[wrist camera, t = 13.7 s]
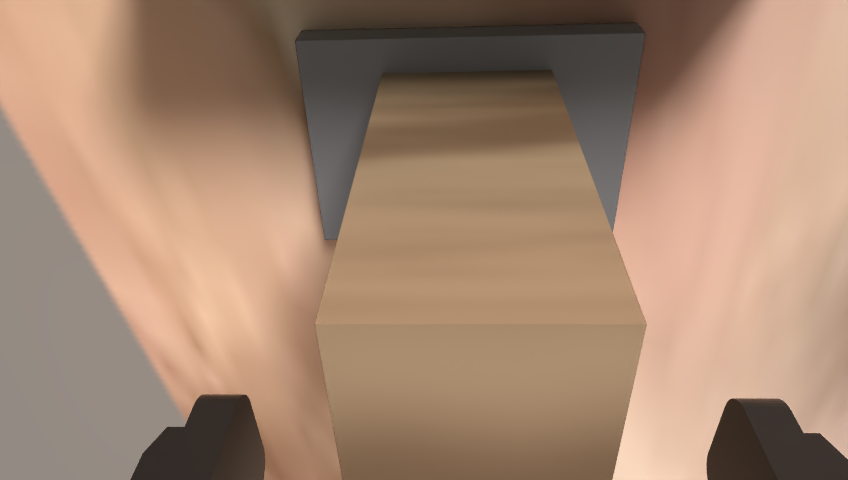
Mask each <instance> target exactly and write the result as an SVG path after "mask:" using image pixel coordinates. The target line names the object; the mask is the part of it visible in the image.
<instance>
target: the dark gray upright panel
mask: <svg viewBox="0 0 848 480" xmlns="http://www.w3.org/2000/svg"><path fill="white" fill-rule="evenodd" d="M644 39H645V32H644V31H643V30H642V28H641V27H640V26H639V25H638V24H637V23H618V24H575V25H532V26H489V27H446V28H404V29H361V30H318V31H301V33H300V34H299V36H298V37H297V39H296V40H295V44H296V51H297V58H298V64H299V71H300V78H301V84H302V91H303V98H304V104H305V111H306V118H307V124H308V131H309V138H310V144H311V151H312V158H313V164H314V171H315V178H316V184H317V191H318V198H319V204H320V211H321V218H322V224H323V231H324V238H325V240H338V236H339V232H340V229H341V225H342V221H343V217H344V214H345V210H346V206H347V202H348V199H349V195H350V191H351V188H352V184H353V180H354V176H355V173H356V169H357V165H358V161H359V158H360V154H361V150H362V146H363V143H364V139H365V135H366V132H367V128H368V124H369V120H370V117H371V113H372V109H373V105H374V102H375V98H376V94H377V90H378V87H379V83H380V79H381V76H382V73H421V72H469V71H518V70H552V71H553V74H554V77H555V79H556V82H557V85H558V88H559V90H560V93H561V96H562V98H563V101H564V104H565V106H566V109H567V112H568V114H569V117H570V120H571V122H572V125H573V128H574V130H575V133H576V136H577V139H578V141H579V144H580V147H581V149H582V152H583V155H584V157H585V160H586V163H587V165H588V168H589V171H590V173H591V176H592V179H593V181H594V184H595V187H596V190H597V192H598V195H599V198H600V200H601V203H602V206H603V208H604V211H605V214H606V216H607V219H608V222H609V224H610V227H611V230H612V232H613V228H614V222H615V216H616V210H617V204H618V198H619V192H620V186H621V180H622V173H623V167H624V161H625V155H626V149H627V143H628V137H629V131H630V125H631V119H632V112H633V106H634V100H635V94H636V88H637V82H638V76H639V70H640V64H641V58H642V52H643V45H644Z"/></svg>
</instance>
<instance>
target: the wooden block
mask: <svg viewBox="0 0 848 480" xmlns="http://www.w3.org/2000/svg"><path fill="white" fill-rule="evenodd" d="M646 325H647V324H646V321H645V318H644V316H643V313H642V310H641V308H640V305H639V302H638V300H637V297H636V294H635V292H634V289H633V286H632V283H631V281H630V278H629V275H628V273H627V270H626V267H625V265H624V262H623V259H622V257H621V254H620V251H619V249H618V246H617V243H616V241H615V238H614V235H613V232H612V230H611V227H610V224H609V222H608V219H607V216H606V214H605V211H604V208H603V206H602V203H601V200H600V198H599V195H598V192H597V190H596V187H595V184H594V181H593V179H592V176H591V173H590V171H589V168H588V165H587V163H586V160H585V157H584V155H583V152H582V149H581V147H580V144H579V141H578V139H577V136H576V133H575V130H574V128H573V125H572V122H571V120H570V117H569V114H568V112H567V109H566V106H565V104H564V101H563V98H562V96H561V93H560V90H559V88H558V85H557V82H556V79H555V77H554V74H553V71H552V70H518V71H469V72H421V73H382V76H381V79H380V83H379V87H378V90H377V94H376V98H375V102H374V105H373V109H372V113H371V117H370V120H369V124H368V128H367V132H366V135H365V139H364V143H363V146H362V150H361V154H360V158H359V161H358V165H357V169H356V173H355V176H354V180H353V184H352V188H351V191H350V195H349V199H348V202H347V206H346V210H345V214H344V217H343V221H342V225H341V229H340V232H339V236H338V240H337V243H336V247H335V251H334V255H333V258H332V262H331V266H330V270H329V273H328V277H327V281H326V285H325V288H324V292H323V296H322V299H321V303H320V307H319V311H318V314H317V318H316V322H315V328H316V333H317V339H318V345H319V350H320V356H321V361H322V367H323V373H324V378H325V384H326V389H327V395H328V401H329V406H330V412H331V417H332V423H333V429H334V434H335V440H336V445H337V451H338V457H339V462H340V468H341V473H342V479H343V480H612V478H613V474H614V469H615V465H616V460H617V456H618V451H619V447H620V442H621V438H622V433H623V429H624V424H625V420H626V415H627V411H628V406H629V402H630V397H631V393H632V388H633V384H634V379H635V375H636V370H637V366H638V361H639V357H640V352H641V348H642V343H643V339H644V334H645V330H646Z"/></svg>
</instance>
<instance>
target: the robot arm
mask: <svg viewBox="0 0 848 480" xmlns="http://www.w3.org/2000/svg"><path fill="white" fill-rule="evenodd" d="M264 471H265V453H264V447H263V444H262V440H261V437H260V434H259V430H258V427H257V423H256V420H255V417H254V413H253V410H252V406H251V403H250V400H249V398H248V396H247V395H201V396H200V397H199V398H198V399H197V400H196V402H195V404H194V406H193V409H192V411H191V413H190V416H189V418H188V420H187V423H186V425H185V427H167V428H166V429H165V430H164V431H163V432H162V433H161V434H160V435H159V437H158V438H157V439H156V440H155V441H154V442H153V443H152V444H151V445H150V446H149V447H148V448H147V450H145V452H144V453H143V454H142V456H141V459H140V461H139V463H138V465H137V467H136V469H135V471H134V473H133V476H132V478H131V480H263V479H264ZM707 477H708V480H848V459H847V458H845V457H844V456H843V455H842V454H841V453H840V452H839V451H838V450H837V449H836V448H835V447H834V446H833V445H832V444H831V443H829V442H828V441H827V440H826V439H825V438H824V437H823V436H822V435H821V434H820V433H803V431H802V430H801V428H800V426H799V424H798V422H797V421H796V419H795V417H794V415H793V413H792V411H791V410H790V408H789V407H788V405H787V404H786V403H785V402H784V401H782V400H780V399H730V400H729V401H728V402H727V404H726V406H725V408H724V411H723V414H722V417H721V419H720V422H719V425H718V428H717V430H716V433H715V436H714V439H713V441H712V444H711V447H710V450H709V452H708V456H707Z"/></svg>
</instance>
